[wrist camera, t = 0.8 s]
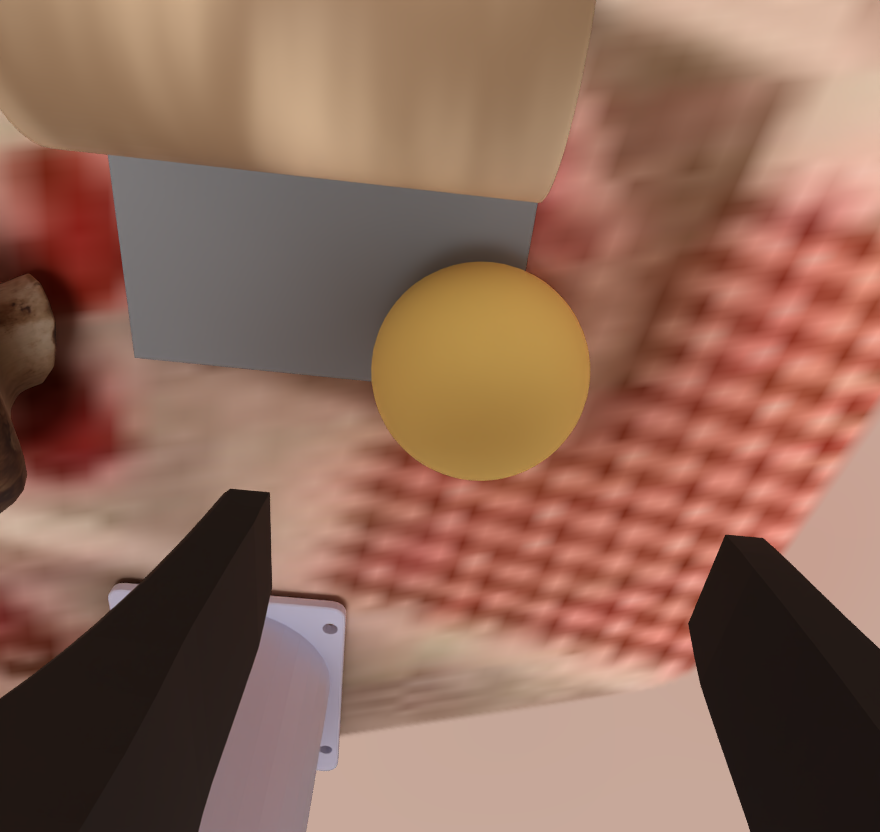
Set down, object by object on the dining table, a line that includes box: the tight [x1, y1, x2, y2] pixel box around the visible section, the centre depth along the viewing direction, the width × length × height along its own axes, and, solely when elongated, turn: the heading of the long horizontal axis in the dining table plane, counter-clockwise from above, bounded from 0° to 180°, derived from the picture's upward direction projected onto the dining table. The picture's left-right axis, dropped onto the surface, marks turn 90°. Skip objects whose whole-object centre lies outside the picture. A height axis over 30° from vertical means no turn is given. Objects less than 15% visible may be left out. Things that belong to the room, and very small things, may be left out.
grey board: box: [108, 155, 538, 381], centre depth 16 cm, size 16×10×1 cm, turn 174°
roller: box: [0, 0, 596, 203], centre depth 13 cm, size 6×9×6 cm, turn 84°
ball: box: [371, 262, 590, 481], centre depth 17 cm, size 5×5×5 cm
